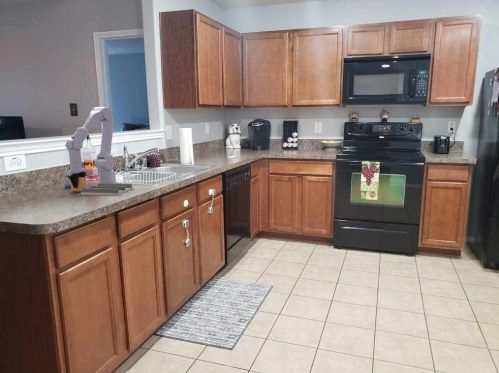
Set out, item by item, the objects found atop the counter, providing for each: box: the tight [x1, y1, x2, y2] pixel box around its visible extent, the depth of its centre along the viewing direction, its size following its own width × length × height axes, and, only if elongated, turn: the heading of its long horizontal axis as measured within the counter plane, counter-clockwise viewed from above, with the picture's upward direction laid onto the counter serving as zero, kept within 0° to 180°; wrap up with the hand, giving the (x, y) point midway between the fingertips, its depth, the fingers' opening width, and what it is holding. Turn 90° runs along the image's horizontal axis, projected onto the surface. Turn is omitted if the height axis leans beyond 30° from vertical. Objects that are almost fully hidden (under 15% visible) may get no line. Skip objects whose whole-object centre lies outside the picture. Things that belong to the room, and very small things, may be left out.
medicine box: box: [62, 171, 77, 188], centre depth 218 cm, size 8×4×9 cm, turn 105°
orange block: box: [70, 176, 87, 192], centre depth 204 cm, size 4×6×7 cm, turn 79°
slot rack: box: [80, 182, 134, 196], centre depth 201 cm, size 17×20×3 cm
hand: (78, 187), depth 204 cm, fingers closed on orange block, 4 cm apart
